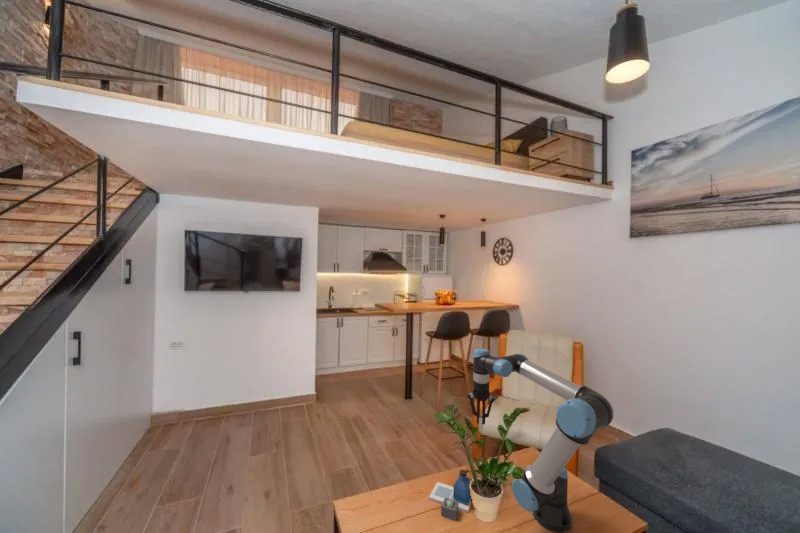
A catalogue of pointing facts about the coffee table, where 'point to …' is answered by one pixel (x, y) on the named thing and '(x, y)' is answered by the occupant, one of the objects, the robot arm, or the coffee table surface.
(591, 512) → the coffee table surface
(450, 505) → the button
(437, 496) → the picture board
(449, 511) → the button housing
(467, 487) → the perfume bottle
